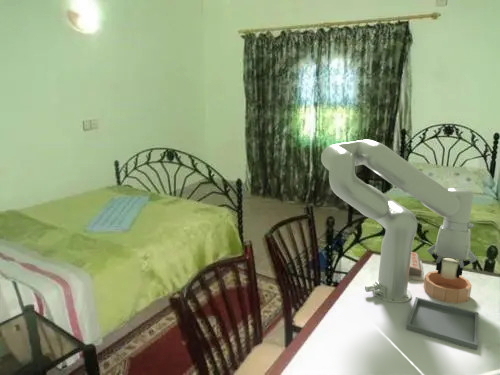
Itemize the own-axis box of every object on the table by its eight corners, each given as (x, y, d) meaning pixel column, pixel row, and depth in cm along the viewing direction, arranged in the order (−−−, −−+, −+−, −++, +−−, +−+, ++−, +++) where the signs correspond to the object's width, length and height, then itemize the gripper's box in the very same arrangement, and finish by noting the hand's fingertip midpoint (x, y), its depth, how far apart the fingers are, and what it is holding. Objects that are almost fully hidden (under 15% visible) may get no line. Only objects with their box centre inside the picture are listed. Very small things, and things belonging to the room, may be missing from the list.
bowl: (443, 306, 126) (445, 293, 125) (415, 286, 139) (416, 273, 138) (478, 301, 130) (480, 287, 128) (447, 281, 143) (449, 269, 141)
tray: (476, 352, 104) (477, 345, 104) (405, 331, 113) (406, 324, 113) (477, 319, 119) (478, 312, 119) (415, 302, 128) (416, 296, 128)
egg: (447, 280, 129) (449, 265, 128) (436, 273, 134) (438, 258, 133) (460, 278, 131) (462, 263, 129) (448, 271, 136) (450, 257, 134)
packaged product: (396, 248, 161) (422, 251, 158) (395, 259, 162) (421, 262, 159) (396, 266, 145) (425, 270, 142) (395, 278, 146) (424, 282, 143)
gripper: (485, 226, 127) (477, 276, 131) (429, 217, 135) (423, 264, 140) (485, 233, 121) (476, 285, 125) (426, 223, 129) (420, 273, 134)
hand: (448, 274), depth 132 cm, fingers closed on egg, 5 cm apart
